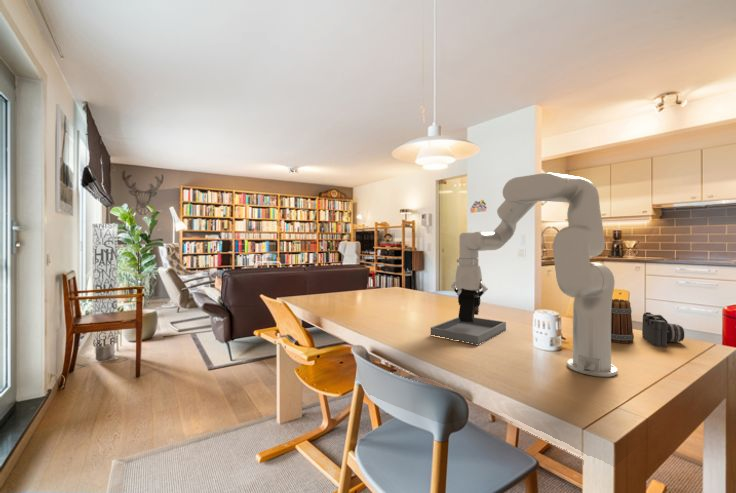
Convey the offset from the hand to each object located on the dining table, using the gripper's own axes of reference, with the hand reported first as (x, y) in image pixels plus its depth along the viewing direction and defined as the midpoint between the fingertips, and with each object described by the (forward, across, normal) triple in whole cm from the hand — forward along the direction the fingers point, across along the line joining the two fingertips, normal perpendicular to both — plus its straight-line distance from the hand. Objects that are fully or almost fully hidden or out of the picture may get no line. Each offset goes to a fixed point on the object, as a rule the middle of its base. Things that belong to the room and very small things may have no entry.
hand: (469, 305), depth 142 cm
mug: (+12, +45, +25) cm, 53 cm away
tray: (+12, 0, 0) cm, 12 cm away
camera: (+12, +61, +33) cm, 70 cm away
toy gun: (+6, 0, 0) cm, 6 cm away
